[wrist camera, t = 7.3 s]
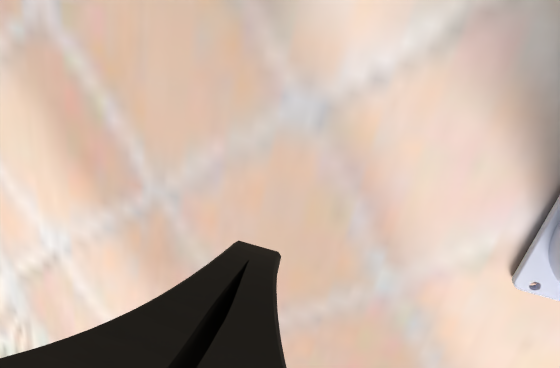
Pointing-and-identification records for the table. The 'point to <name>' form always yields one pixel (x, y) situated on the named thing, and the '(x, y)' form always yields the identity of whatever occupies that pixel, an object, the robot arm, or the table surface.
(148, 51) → the table surface
